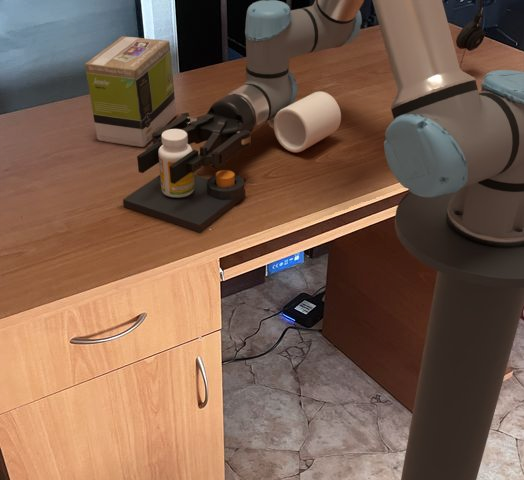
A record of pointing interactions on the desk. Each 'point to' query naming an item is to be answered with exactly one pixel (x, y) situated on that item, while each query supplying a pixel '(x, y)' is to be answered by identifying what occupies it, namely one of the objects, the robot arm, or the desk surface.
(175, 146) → the supplement bottle
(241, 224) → the desk surface
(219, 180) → the tare button
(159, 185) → the dark grey flat block
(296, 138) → the mug
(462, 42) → the headphones
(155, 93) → the tea box
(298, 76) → the desk surface
